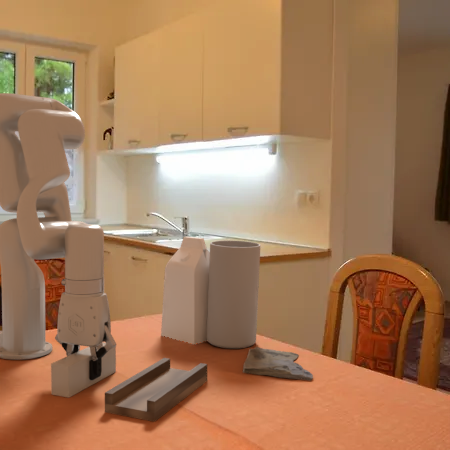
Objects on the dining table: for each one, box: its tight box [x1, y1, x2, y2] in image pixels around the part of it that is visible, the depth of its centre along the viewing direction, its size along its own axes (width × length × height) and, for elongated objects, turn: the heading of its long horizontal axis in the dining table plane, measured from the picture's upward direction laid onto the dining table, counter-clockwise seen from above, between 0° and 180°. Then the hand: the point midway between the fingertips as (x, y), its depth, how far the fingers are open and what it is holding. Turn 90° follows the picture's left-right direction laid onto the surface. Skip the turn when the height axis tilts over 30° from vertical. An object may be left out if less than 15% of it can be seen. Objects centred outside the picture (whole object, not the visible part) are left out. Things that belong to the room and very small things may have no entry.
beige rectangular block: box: [50, 342, 117, 398], centre depth 118 cm, size 4×16×6 cm, turn 158°
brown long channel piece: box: [104, 357, 208, 422], centre depth 111 cm, size 10×22×4 cm, turn 158°
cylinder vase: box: [206, 239, 261, 350], centre depth 146 cm, size 12×12×25 cm
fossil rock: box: [242, 346, 314, 381], centre depth 130 cm, size 18×15×2 cm
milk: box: [160, 236, 210, 345], centre depth 153 cm, size 12×12×26 cm
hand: (85, 375), depth 118 cm, fingers closed on beige rectangular block, 4 cm apart
